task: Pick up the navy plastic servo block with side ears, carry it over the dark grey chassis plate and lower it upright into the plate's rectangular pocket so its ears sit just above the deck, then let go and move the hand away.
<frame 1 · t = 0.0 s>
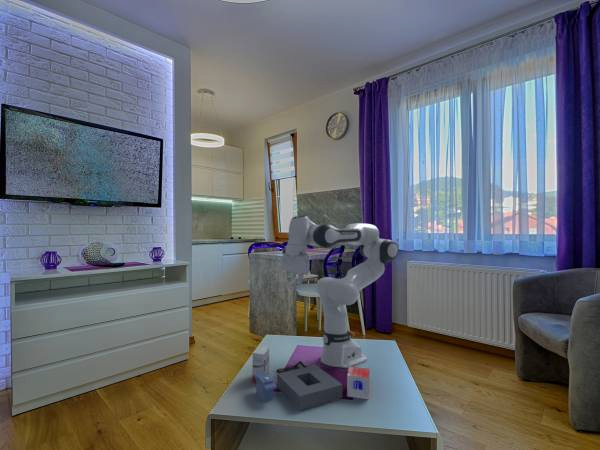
hand: (293, 282, 138), 39 cm above the table, tool pointing down, fingers open, 8 cm apart
servo block: (264, 396, 116), on the table
ink box: (260, 378, 130), on the table
white red cube carton: (358, 393, 120), on the table
chassis plate: (308, 392, 120), on the table
calculator: (292, 374, 135), on the table
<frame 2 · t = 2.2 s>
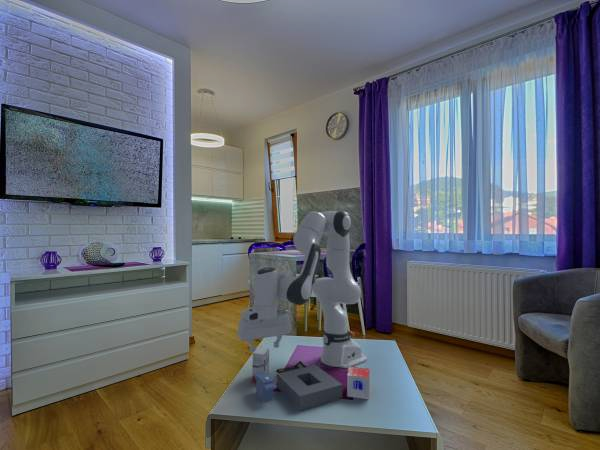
hand: (264, 349, 116), 18 cm above the table, tool pointing down, fingers open, 8 cm apart
nothing on the table moved.
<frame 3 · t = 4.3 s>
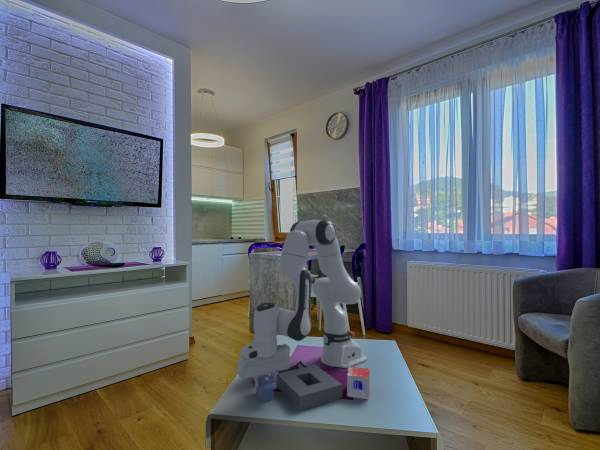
hand: (264, 385, 116), 4 cm above the table, tool pointing down, fingers closed on servo block, 4 cm apart
servo block: (264, 396, 116), on the table, touching gripper
everything else where it was.
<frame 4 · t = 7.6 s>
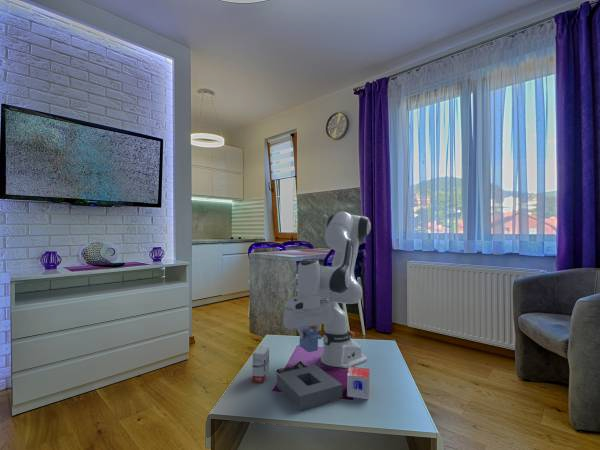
hand: (308, 337, 120), 21 cm above the table, tool pointing down, fingers closed on servo block, 4 cm apart
servo block: (308, 348, 120), point 17 cm above the table, touching gripper
everything else where it was.
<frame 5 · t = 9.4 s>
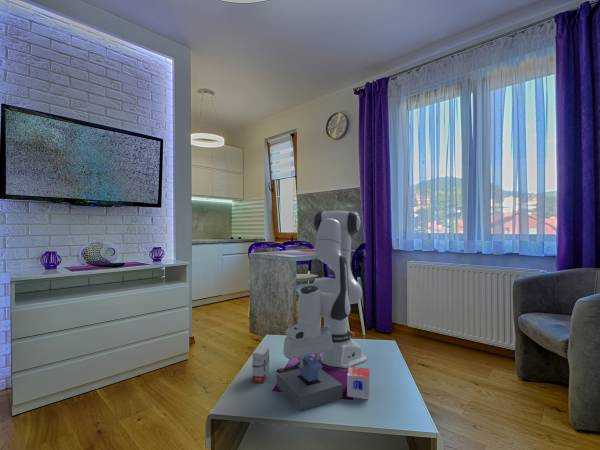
hand: (308, 365, 120), 10 cm above the table, tool pointing down, fingers closed on servo block, 4 cm apart
servo block: (308, 376, 120), point 6 cm above the table, touching gripper
everything else where it was.
when the fingers open (6 cm above the table, at t = 10.7 s): servo block drops 2 cm, resting in chassis plate.
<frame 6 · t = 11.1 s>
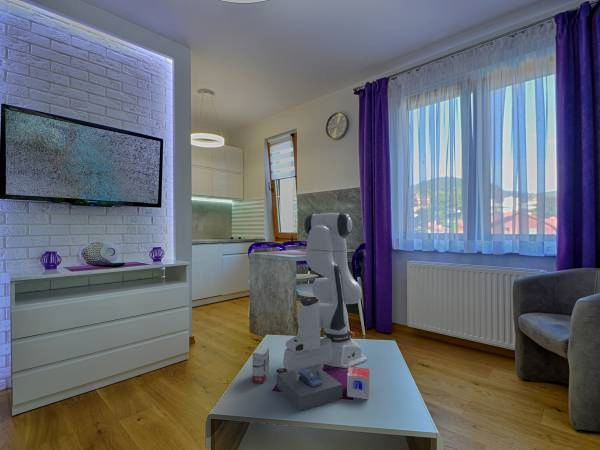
hand: (308, 377, 120), 6 cm above the table, tool pointing down, fingers open, 8 cm apart
servo block: (308, 392, 120), resting in chassis plate
everything else where it was.
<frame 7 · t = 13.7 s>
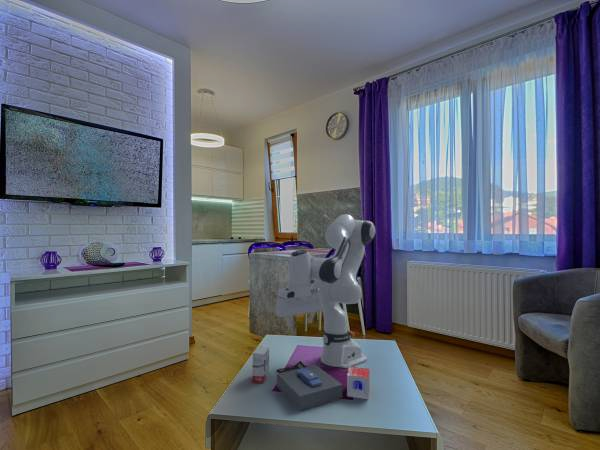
hand: (299, 324, 126), 24 cm above the table, tool pointing down, fingers open, 8 cm apart
nothing on the table moved.
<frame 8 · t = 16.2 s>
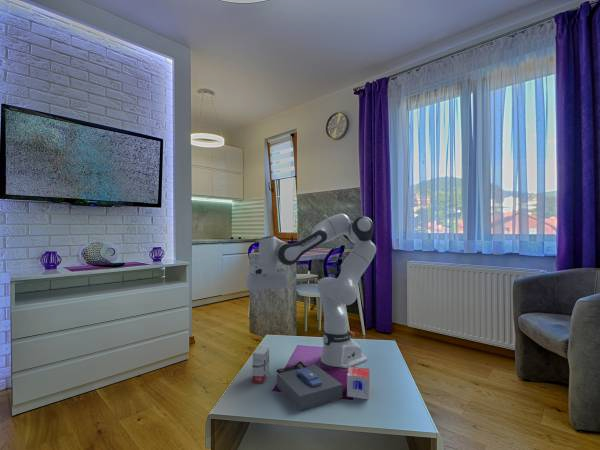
hand: (267, 297, 152), 29 cm above the table, tool pointing down, fingers open, 8 cm apart
nothing on the table moved.
at the end: servo block 0.0 cm off-centre on the chassis plate, point 0.0 cm above the chassis plate's base; servo block tilted 0°; the gripper is holding nothing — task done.
